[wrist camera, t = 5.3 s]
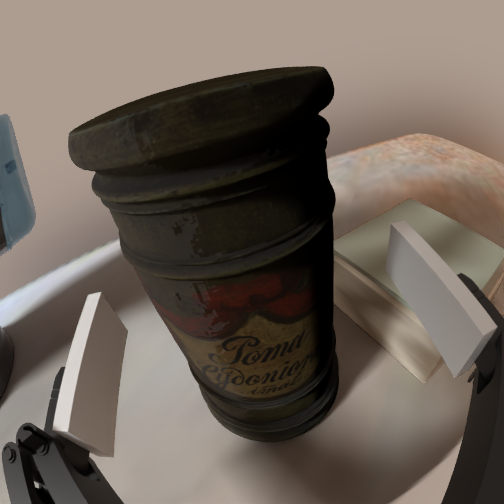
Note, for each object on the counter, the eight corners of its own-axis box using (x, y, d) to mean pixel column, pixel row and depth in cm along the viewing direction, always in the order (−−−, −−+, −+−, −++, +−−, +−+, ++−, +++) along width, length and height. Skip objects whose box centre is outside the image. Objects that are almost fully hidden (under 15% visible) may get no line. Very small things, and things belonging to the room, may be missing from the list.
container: (195, 358, 21) (84, 120, 11) (301, 316, 23) (267, 66, 12) (230, 464, 14) (-4, 176, 3) (362, 405, 16) (411, 66, 5)
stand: (320, 291, 24) (318, 244, 22) (404, 236, 28) (409, 195, 25) (424, 384, 15) (448, 342, 13) (494, 295, 19) (513, 251, 16)
